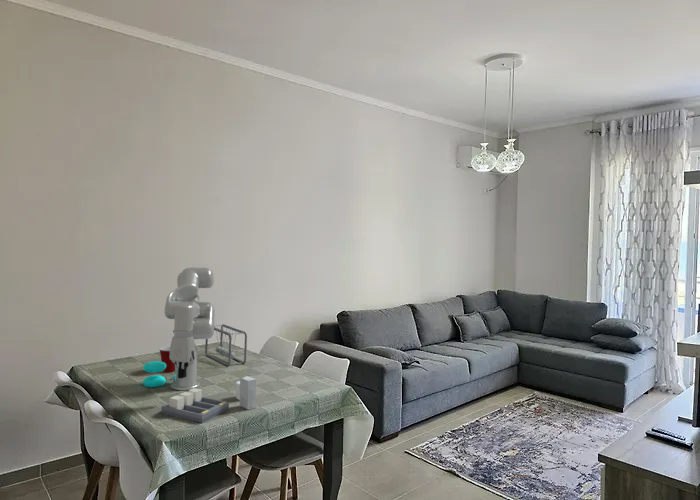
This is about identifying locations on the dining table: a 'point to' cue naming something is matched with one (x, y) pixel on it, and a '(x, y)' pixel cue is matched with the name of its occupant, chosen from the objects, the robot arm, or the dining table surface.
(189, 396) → the tab middle
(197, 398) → the tab inner
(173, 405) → the white cube
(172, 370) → the plastic cup
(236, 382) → the grey cylinder
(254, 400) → the skincare box
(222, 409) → the switch bank
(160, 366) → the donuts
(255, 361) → the dining table surface
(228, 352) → the newton's cradle
